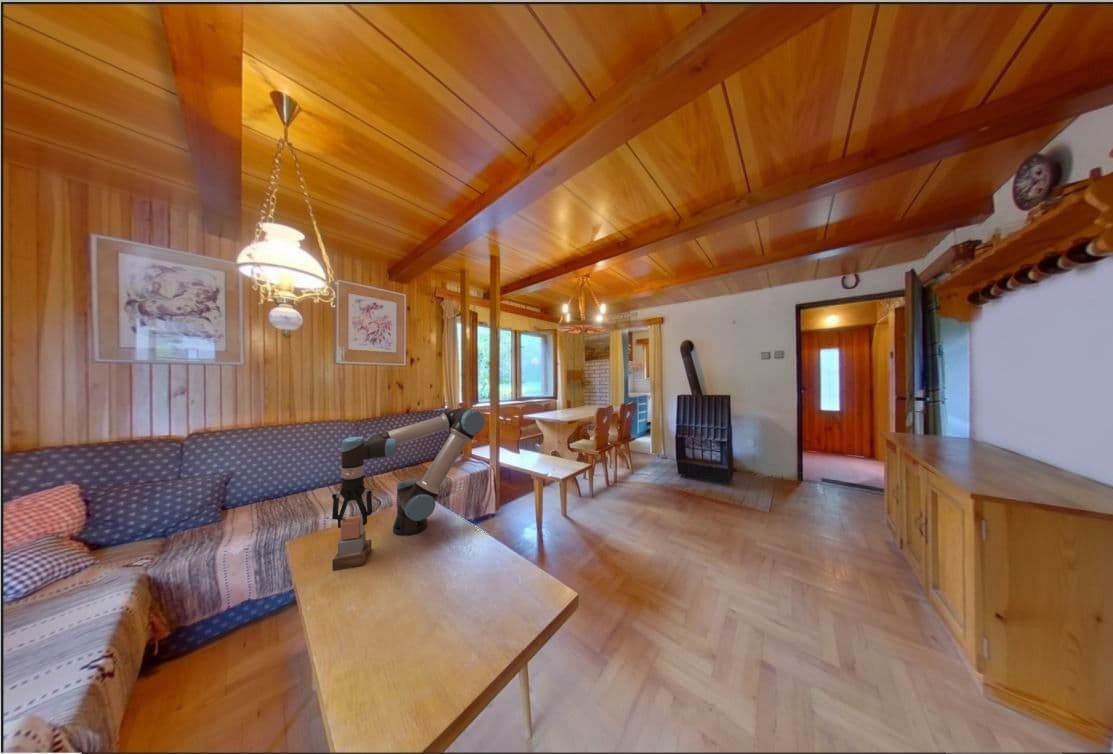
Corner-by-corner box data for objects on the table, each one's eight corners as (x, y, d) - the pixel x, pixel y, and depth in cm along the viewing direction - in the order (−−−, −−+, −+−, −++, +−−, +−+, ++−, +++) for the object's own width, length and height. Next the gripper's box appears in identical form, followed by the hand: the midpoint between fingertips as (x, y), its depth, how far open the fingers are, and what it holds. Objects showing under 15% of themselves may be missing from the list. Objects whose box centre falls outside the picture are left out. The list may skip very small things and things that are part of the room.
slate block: (342, 545, 125) (342, 533, 125) (365, 541, 129) (365, 529, 128) (337, 556, 118) (337, 543, 118) (362, 551, 121) (362, 539, 121)
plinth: (344, 552, 128) (344, 542, 128) (371, 548, 131) (371, 539, 131) (332, 570, 116) (332, 559, 116) (362, 565, 119) (362, 555, 119)
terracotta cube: (346, 532, 125) (346, 517, 125) (363, 530, 127) (363, 515, 127) (341, 539, 120) (341, 524, 120) (358, 537, 121) (359, 522, 121)
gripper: (320, 481, 117) (320, 542, 117) (377, 477, 122) (377, 535, 122) (328, 475, 124) (328, 532, 124) (381, 471, 129) (381, 526, 130)
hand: (352, 534), depth 123 cm, fingers closed on terracotta cube, 6 cm apart
